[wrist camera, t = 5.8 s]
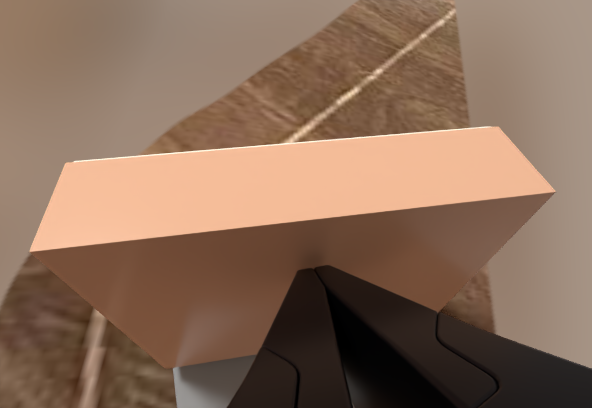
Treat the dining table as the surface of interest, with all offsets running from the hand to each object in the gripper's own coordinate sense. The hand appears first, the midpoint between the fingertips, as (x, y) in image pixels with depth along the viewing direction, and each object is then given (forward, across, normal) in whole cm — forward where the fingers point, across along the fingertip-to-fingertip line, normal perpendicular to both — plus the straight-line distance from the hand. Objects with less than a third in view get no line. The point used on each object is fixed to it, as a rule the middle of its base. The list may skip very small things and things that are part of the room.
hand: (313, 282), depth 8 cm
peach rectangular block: (+4, 0, -5) cm, 7 cm away
